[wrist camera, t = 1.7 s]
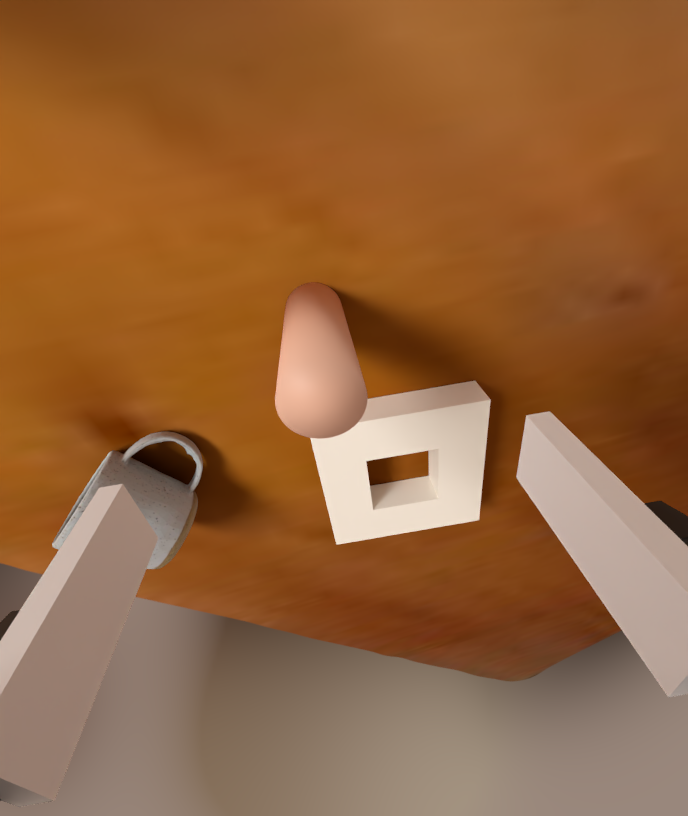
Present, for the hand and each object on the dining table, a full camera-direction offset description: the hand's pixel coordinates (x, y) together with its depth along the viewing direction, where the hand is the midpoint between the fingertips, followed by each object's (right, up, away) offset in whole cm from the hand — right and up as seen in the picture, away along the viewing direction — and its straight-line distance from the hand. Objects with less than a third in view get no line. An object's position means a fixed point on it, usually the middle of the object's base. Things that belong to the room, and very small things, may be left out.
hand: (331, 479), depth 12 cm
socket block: (+5, -2, +22) cm, 23 cm away
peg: (-2, +9, +14) cm, 17 cm away
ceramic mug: (-16, -3, +20) cm, 26 cm away
